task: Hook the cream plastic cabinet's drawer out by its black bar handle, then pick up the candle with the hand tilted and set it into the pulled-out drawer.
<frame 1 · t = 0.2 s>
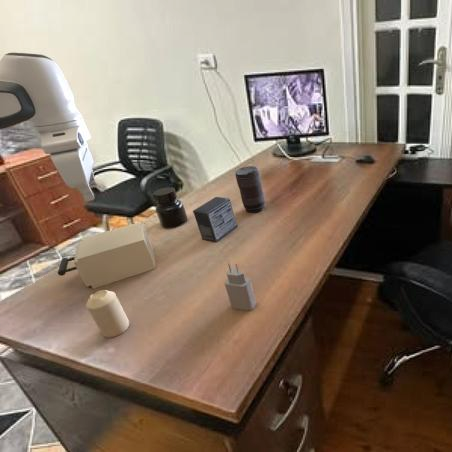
hand: (92, 193, 83), 26 cm above the table, tool pointing down, fingers open, 8 cm apart
power adapter: (244, 305, 82), on the table
small box: (220, 233, 114), on the table
candle: (116, 329, 79), on the table
camera lens: (255, 209, 127), on the table
drawer: (102, 258, 97), point 5 cm above the table, slide at 0.0 cm
ink bottle: (175, 222, 123), on the table
cabinet: (125, 267, 101), on the table
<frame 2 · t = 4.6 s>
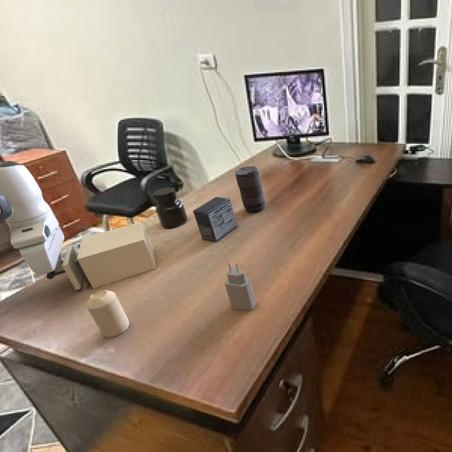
hand: (60, 269, 93), 5 cm above the table, tool pointing down, fingers closed, pressing on drawer
drawer: (92, 261, 96), point 5 cm above the table, slide at 2.5 cm, touching gripper
everything else where it was.
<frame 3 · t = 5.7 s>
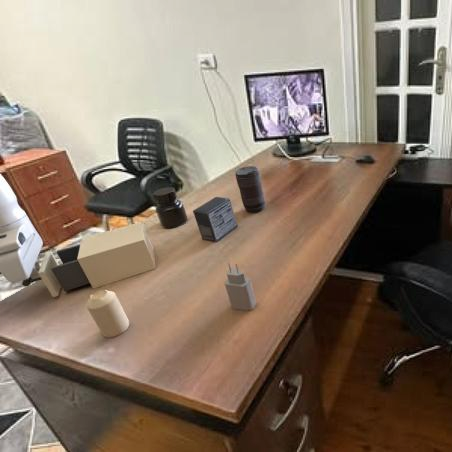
hand: (38, 276, 91), 5 cm above the table, tool pointing down, fingers closed, pressing on drawer
drawer: (70, 267, 94), point 5 cm above the table, slide at 7.6 cm, touching gripper
everything else where it was.
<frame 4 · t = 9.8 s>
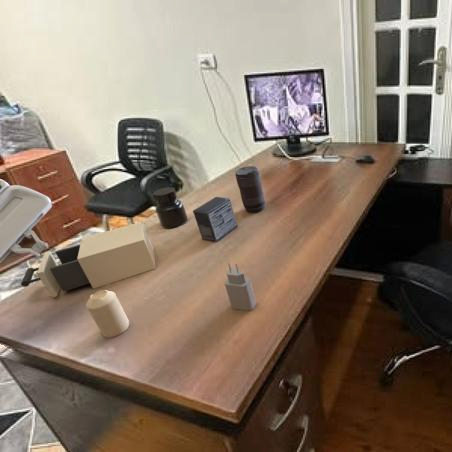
hand: (43, 250, 74), 19 cm above the table, tool tilted 45°, fingers closed
drawer: (69, 268, 94), point 5 cm above the table, slide at 7.8 cm
everything else where it was.
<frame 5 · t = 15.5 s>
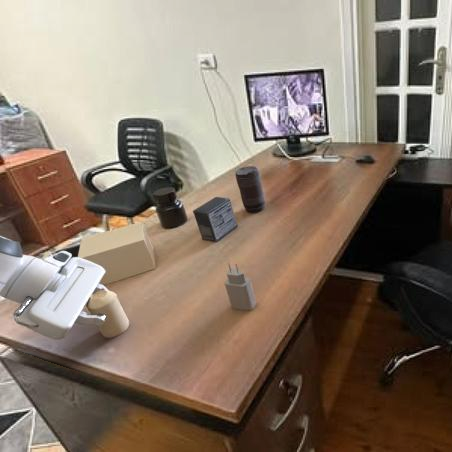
hand: (109, 310, 76), 5 cm above the table, tool tilted 45°, fingers closed on candle, 5 cm apart
candle: (116, 329, 79), on the table, touching gripper
everything else where it was.
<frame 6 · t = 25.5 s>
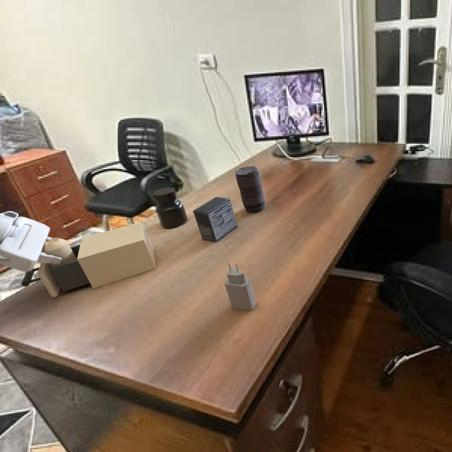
hand: (62, 254, 92), 9 cm above the table, tool tilted 45°, fingers closed on candle, 5 cm apart
candle: (70, 272, 94), point 4 cm above the table, touching gripper
drawer: (69, 267, 94), point 5 cm above the table, slide at 7.7 cm, touching gripper
everything else where it was.
when the fingers open (9 cm above the table, at t = 30.9 s): candle drops 2 cm, resting on drawer.
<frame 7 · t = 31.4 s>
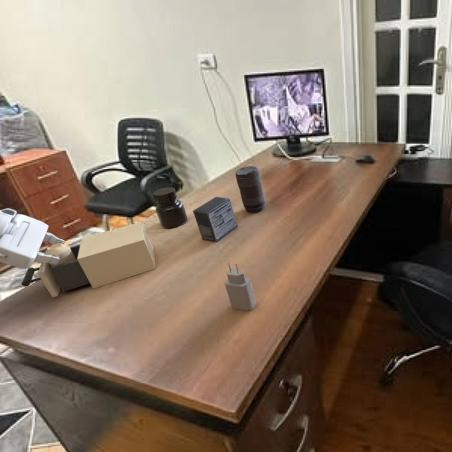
hand: (61, 252, 91), 10 cm above the table, tool tilted 45°, fingers open, 8 cm apart
candle: (72, 277, 95), point 2 cm above the table, touching drawer
drawer: (70, 267, 94), point 5 cm above the table, slide at 7.7 cm, touching candle
everything else where it was.
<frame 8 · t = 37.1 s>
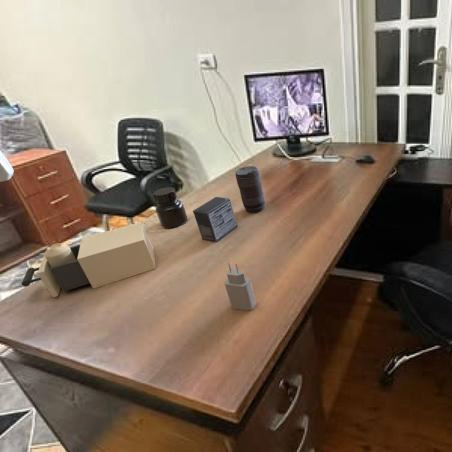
nothing on the table moved.
at the end: drawer slide at 7.7 cm; candle inside the target area in the cabinet (8.1 cm from its centre), point 1.8 cm above the cabinet's base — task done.
